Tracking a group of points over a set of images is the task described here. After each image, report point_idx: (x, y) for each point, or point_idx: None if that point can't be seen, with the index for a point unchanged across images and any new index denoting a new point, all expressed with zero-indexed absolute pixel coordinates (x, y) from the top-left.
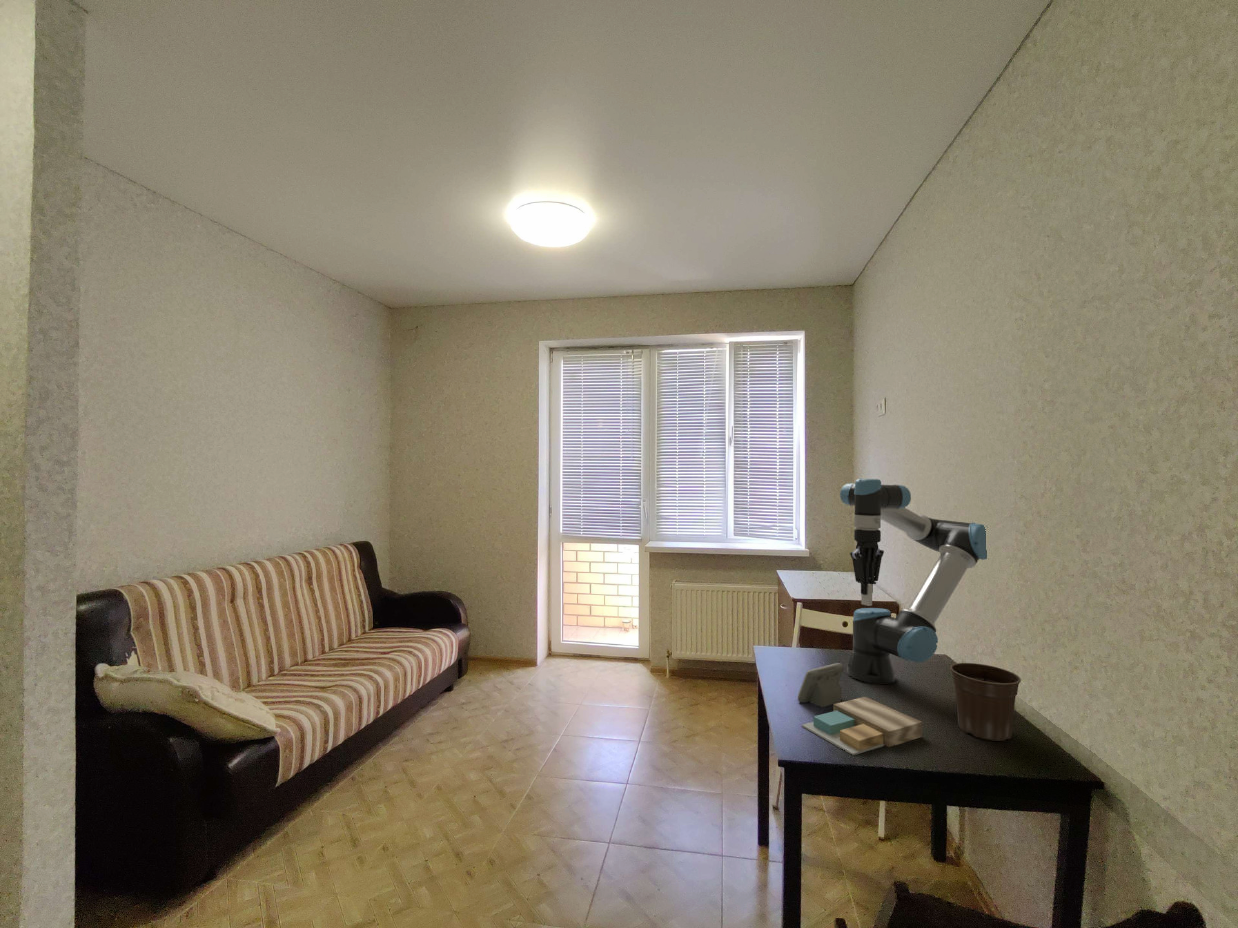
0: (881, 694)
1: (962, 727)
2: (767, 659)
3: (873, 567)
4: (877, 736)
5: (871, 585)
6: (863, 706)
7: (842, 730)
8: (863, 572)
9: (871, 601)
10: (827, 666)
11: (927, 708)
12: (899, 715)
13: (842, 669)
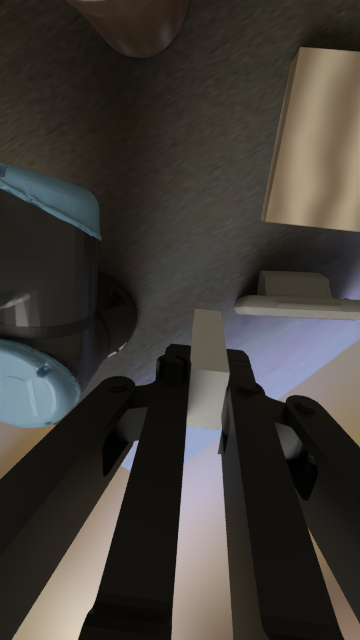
0: (156, 248)
1: (182, 21)
2: (196, 450)
3: (145, 501)
4: None
5: (199, 364)
6: (323, 188)
7: None
8: (345, 479)
9: (200, 316)
10: (298, 310)
11: (137, 151)
12: (306, 106)
13: (253, 295)
